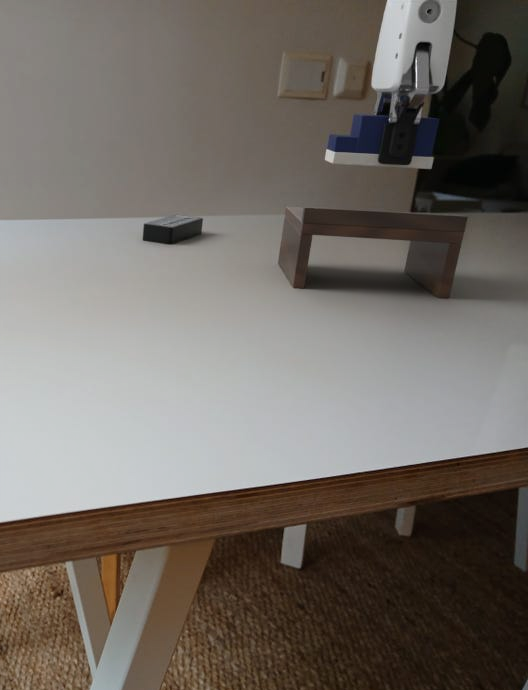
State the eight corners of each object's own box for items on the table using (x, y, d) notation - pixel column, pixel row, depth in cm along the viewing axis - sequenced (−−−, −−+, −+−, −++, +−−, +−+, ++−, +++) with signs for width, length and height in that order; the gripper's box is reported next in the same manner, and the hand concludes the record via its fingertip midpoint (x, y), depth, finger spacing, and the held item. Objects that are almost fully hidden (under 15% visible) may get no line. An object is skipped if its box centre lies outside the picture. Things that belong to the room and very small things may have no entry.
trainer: (418, 165, 81) (428, 117, 80) (431, 169, 77) (442, 119, 76) (324, 160, 83) (332, 113, 81) (332, 163, 79) (341, 114, 77)
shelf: (414, 272, 89) (429, 200, 86) (449, 298, 78) (468, 216, 75) (277, 263, 91) (287, 192, 88) (292, 287, 80) (305, 207, 77)
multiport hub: (141, 239, 103) (142, 223, 102) (174, 229, 111) (176, 214, 110) (170, 244, 100) (171, 227, 99) (202, 233, 109) (204, 217, 108)
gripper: (498, -41, 65) (451, 172, 72) (434, -15, 81) (400, 157, 87) (409, -42, 66) (370, 167, 73) (363, -17, 82) (334, 153, 88)
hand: (387, 160), depth 80 cm, fingers closed on trainer, 4 cm apart
